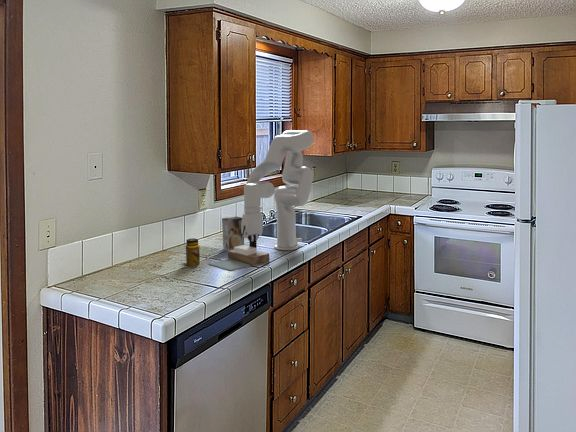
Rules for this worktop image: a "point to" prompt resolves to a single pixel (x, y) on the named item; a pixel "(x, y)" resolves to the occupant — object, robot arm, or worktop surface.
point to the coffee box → (232, 233)
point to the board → (249, 257)
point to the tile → (245, 250)
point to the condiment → (192, 253)
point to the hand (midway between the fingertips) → (253, 248)
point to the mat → (229, 264)
